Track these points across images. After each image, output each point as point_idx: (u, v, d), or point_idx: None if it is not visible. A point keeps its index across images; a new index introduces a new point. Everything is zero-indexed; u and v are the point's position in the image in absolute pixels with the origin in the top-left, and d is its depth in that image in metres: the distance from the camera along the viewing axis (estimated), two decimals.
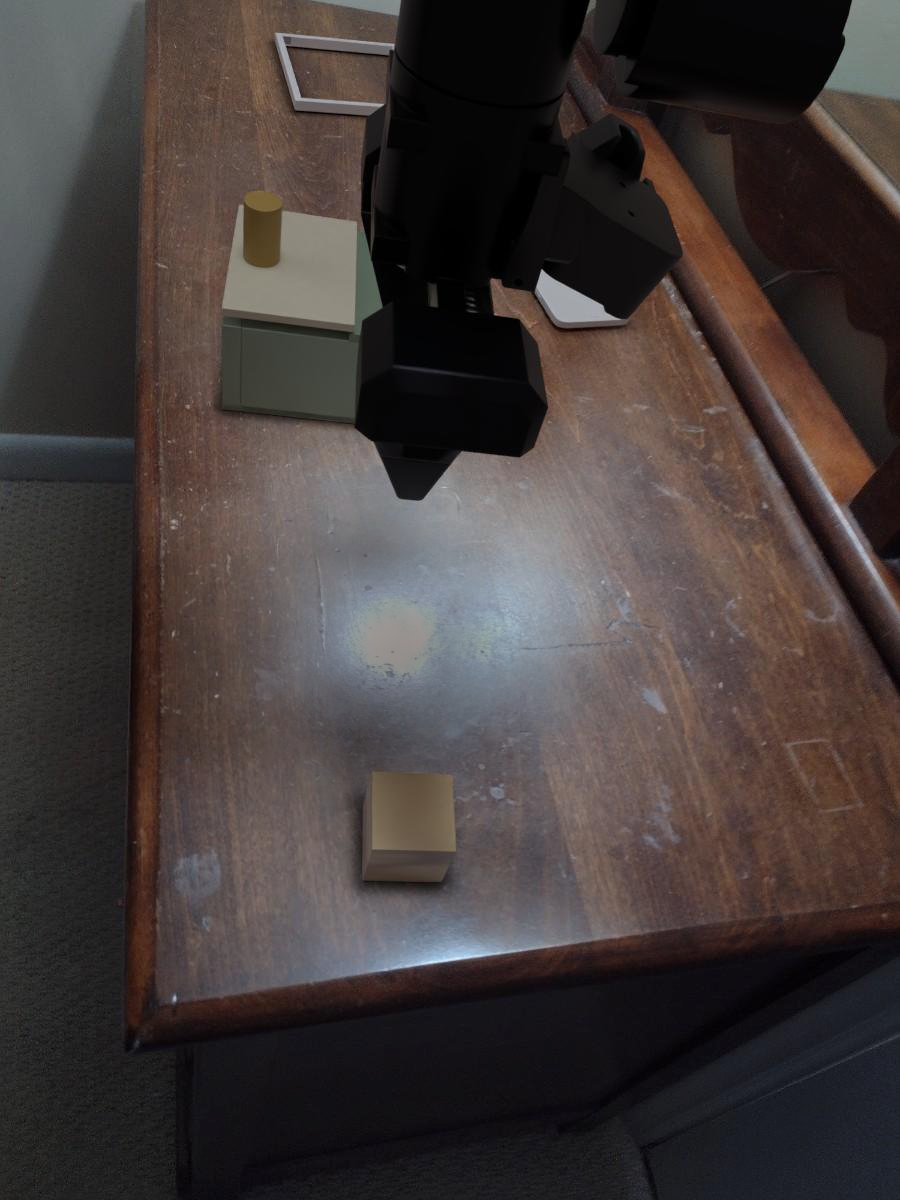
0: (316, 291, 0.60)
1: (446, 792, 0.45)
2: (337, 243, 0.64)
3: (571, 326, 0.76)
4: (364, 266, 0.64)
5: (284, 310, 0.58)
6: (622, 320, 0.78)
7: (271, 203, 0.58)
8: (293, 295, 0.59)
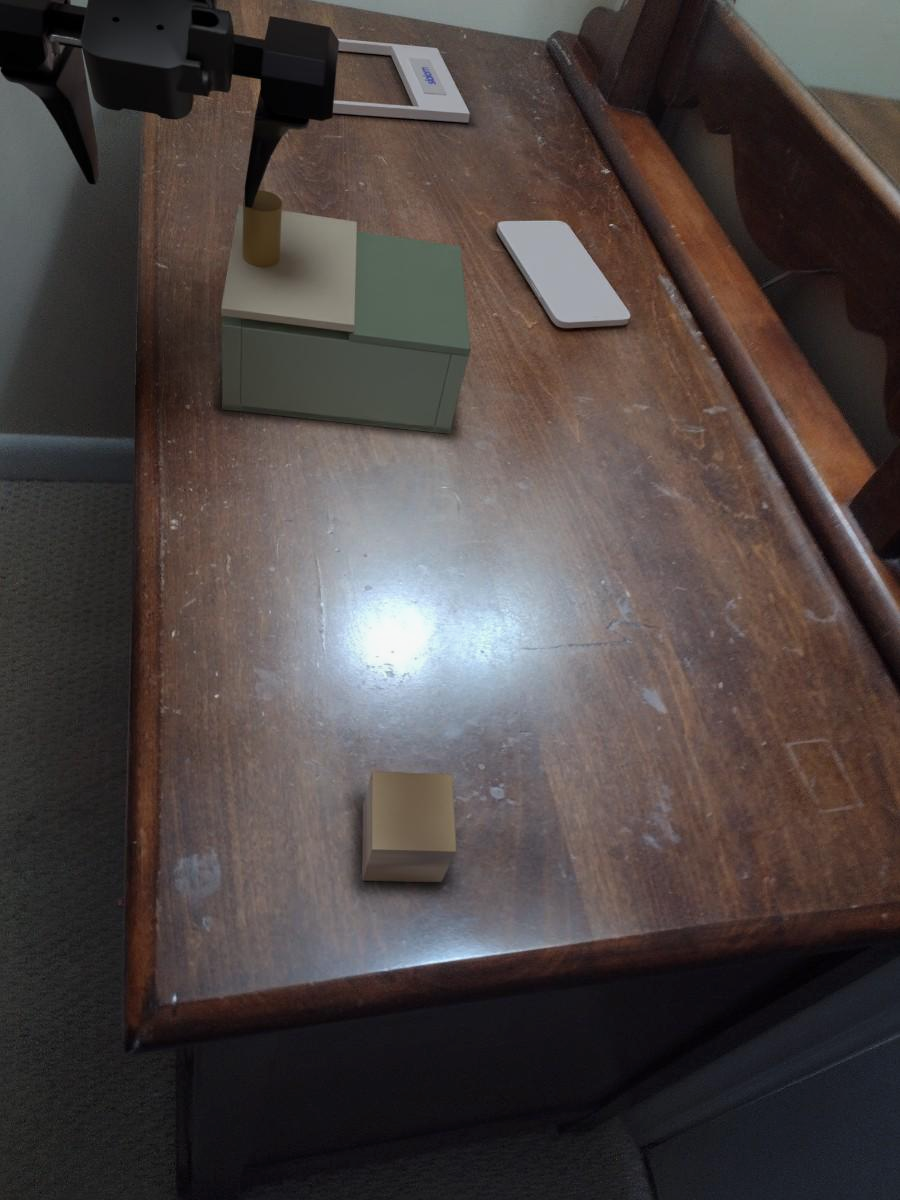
0: (315, 291, 0.60)
1: (446, 792, 0.45)
2: (336, 243, 0.64)
3: (571, 326, 0.76)
4: (364, 266, 0.64)
5: (284, 310, 0.58)
6: (622, 320, 0.78)
7: (271, 203, 0.58)
8: (293, 295, 0.59)
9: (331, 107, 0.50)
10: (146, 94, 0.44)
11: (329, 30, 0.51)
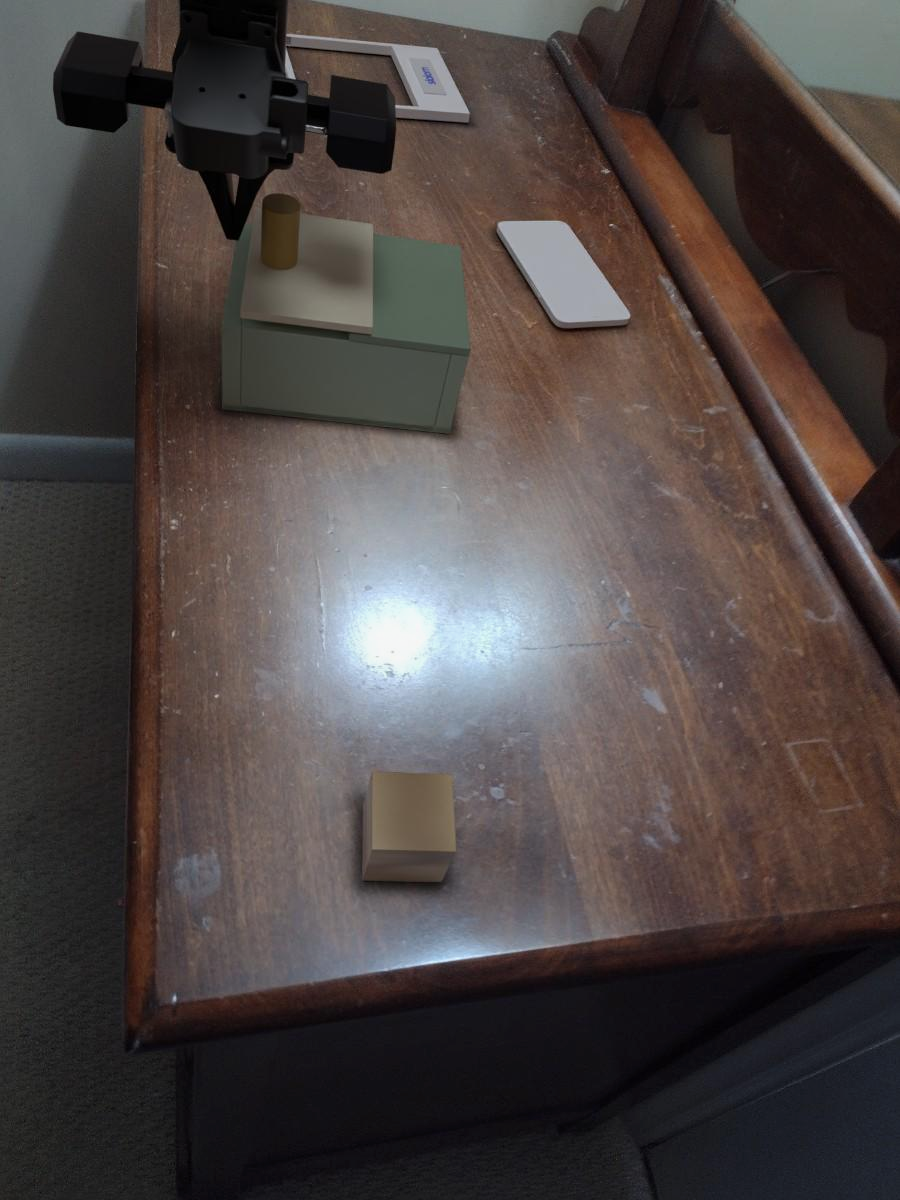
0: (333, 293, 0.60)
1: (446, 792, 0.45)
2: (353, 245, 0.64)
3: (571, 326, 0.76)
4: None
5: (303, 312, 0.58)
6: (622, 320, 0.78)
7: (289, 206, 0.58)
8: (311, 297, 0.59)
9: (391, 161, 0.54)
10: (228, 157, 0.48)
11: (386, 87, 0.55)
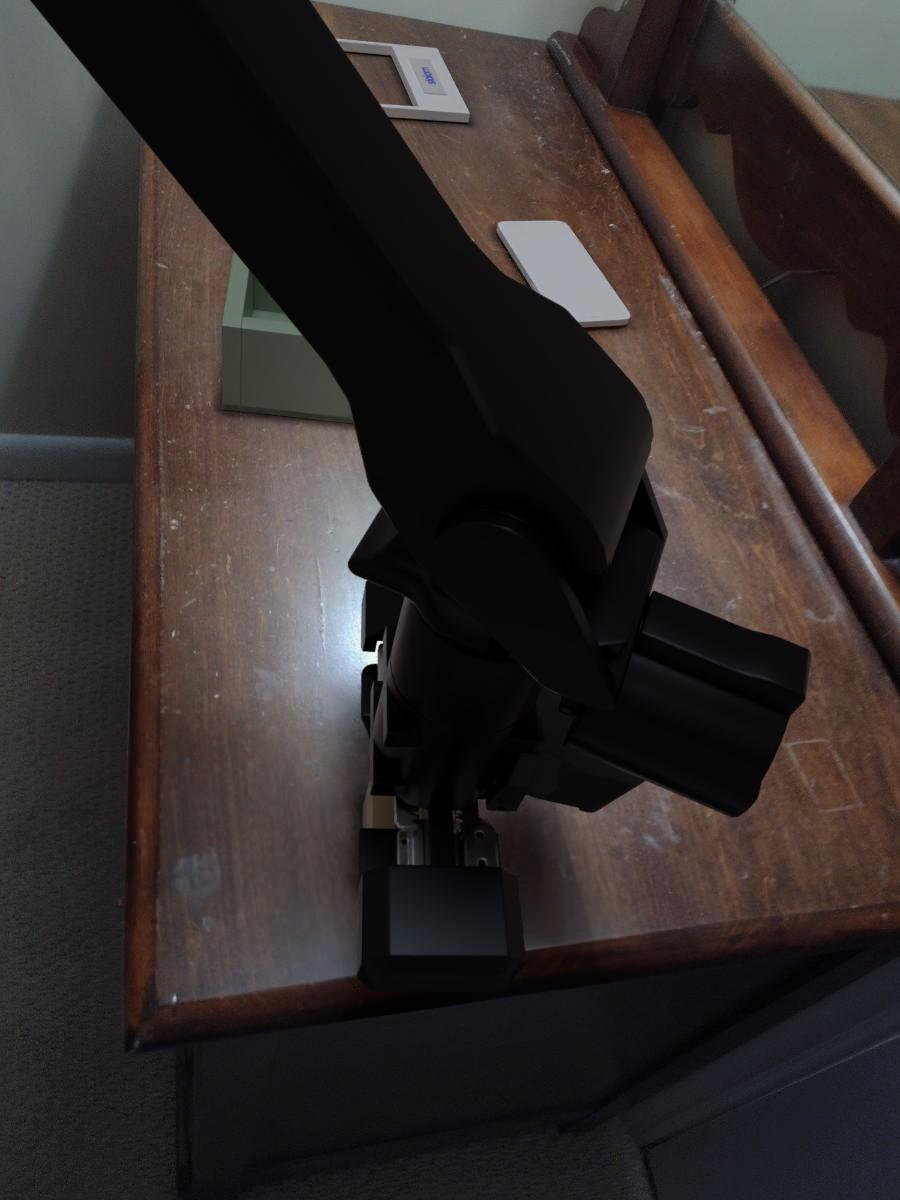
0: None
1: None
2: None
3: None
4: None
5: None
6: (622, 320, 0.78)
7: None
8: None
9: None
10: None
11: None
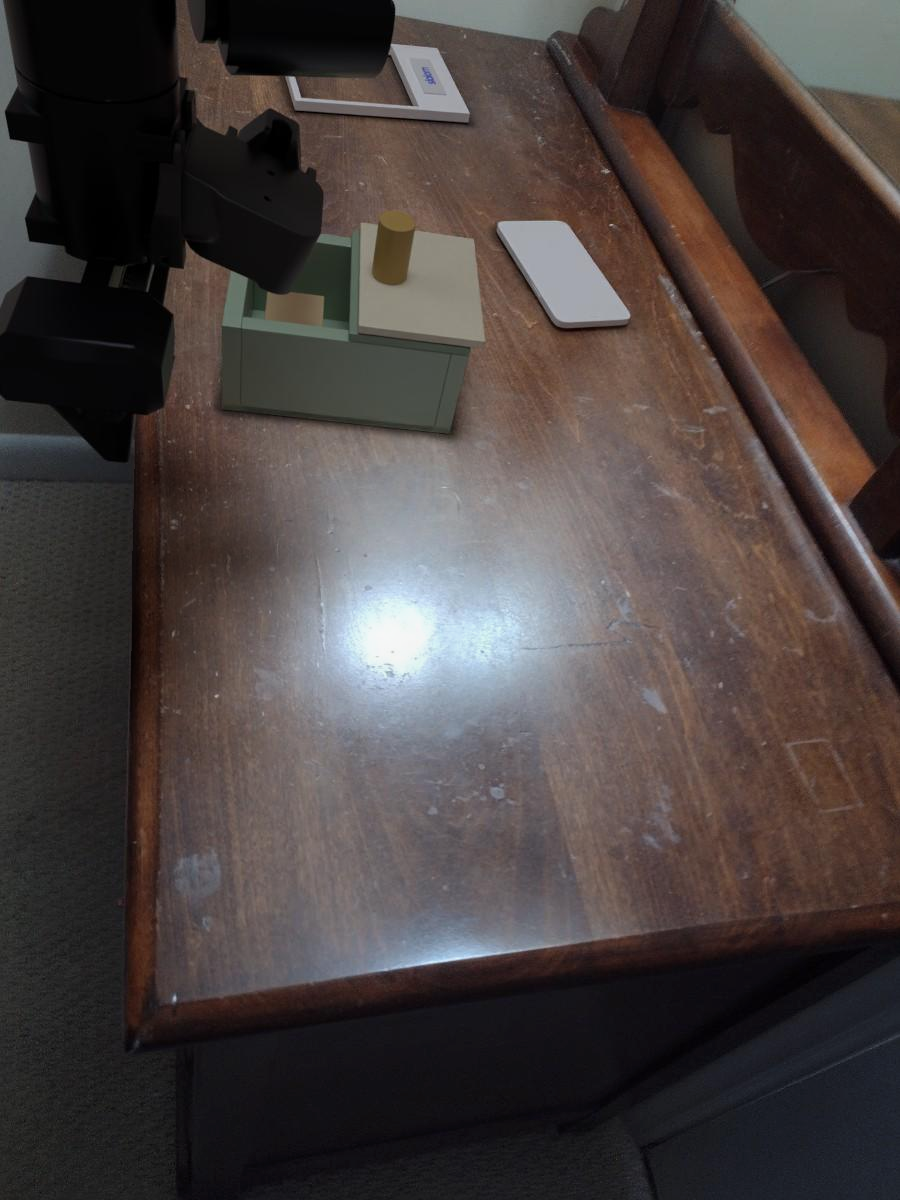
0: (444, 308, 0.61)
1: (318, 303, 0.65)
2: (457, 260, 0.65)
3: (571, 326, 0.76)
4: None
5: (418, 327, 0.60)
6: (622, 320, 0.78)
7: (405, 223, 0.59)
8: (424, 312, 0.61)
9: None
10: None
11: None
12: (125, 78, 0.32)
